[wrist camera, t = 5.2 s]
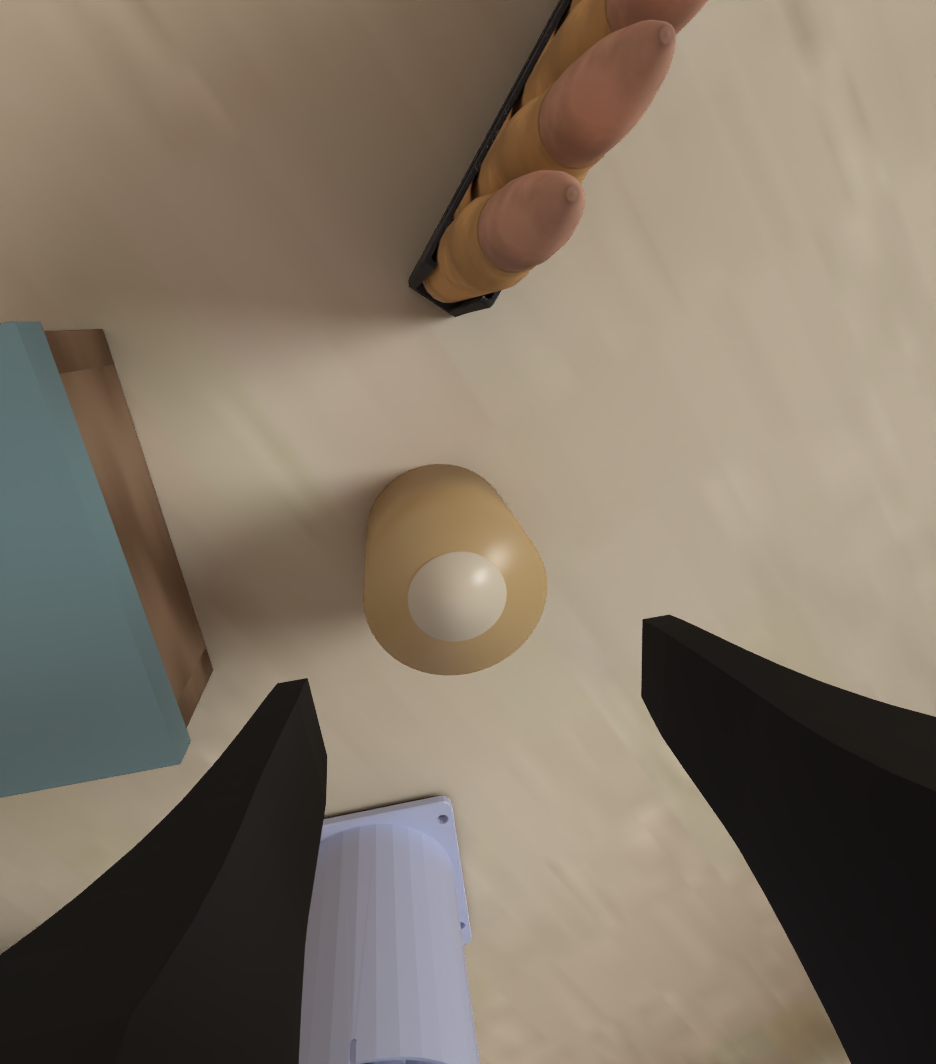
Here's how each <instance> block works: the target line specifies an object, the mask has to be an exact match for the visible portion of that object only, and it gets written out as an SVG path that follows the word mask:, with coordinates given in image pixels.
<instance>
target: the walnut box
mask: <svg viewBox="0 0 936 1064" xmlns="http://www.w3.org/2000/svg"><path fill="white" fill-rule="evenodd" d="M44 333H45V336H46V338H47V341H48V344H49V347H50V350H51V352H52V355H53V358H54V361H55V364H56V366H57V369H58V372H59V375H60V377H61V380H62V383H63V386H64V389H65V391H66V394H67V397H68V400H69V403H70V405H71V408H72V411H73V414H74V417H75V419H76V422H77V425H78V428H79V430H80V433H81V436H82V439H83V442H84V444H85V447H86V450H87V453H88V456H89V458H90V461H91V464H92V467H93V469H94V472H95V475H96V478H97V481H98V483H99V486H100V489H101V492H102V495H103V497H104V500H105V503H106V506H107V509H108V511H109V514H110V517H111V520H112V522H113V525H114V528H115V531H116V534H117V536H118V539H119V542H120V545H121V548H122V550H123V553H124V556H125V559H126V561H127V564H128V567H129V570H130V573H131V575H132V578H133V581H134V584H135V587H136V589H137V592H138V595H139V598H140V601H141V603H142V606H143V609H144V612H145V614H146V617H147V620H148V623H149V626H150V628H151V631H152V634H153V637H154V640H155V642H156V645H157V648H158V651H159V653H160V656H161V659H162V662H163V665H164V667H165V670H166V673H167V676H168V679H169V681H170V684H171V687H172V690H173V693H174V695H175V698H176V701H177V704H178V706H179V709H180V712H181V715H182V718H183V720H184V723H185V726H186V728H187V726H188V724H189V721H190V719H191V717H192V715H193V713H194V711H195V708H196V706H197V704H198V702H199V700H200V698H201V695H202V693H203V691H204V689H205V687H206V684H207V682H208V680H209V678H210V676H211V674H212V671H213V668H212V665H211V662H210V659H209V656H208V653H207V650H206V647H205V643H204V640H203V637H202V634H201V631H200V628H199V625H198V622H197V619H196V616H195V613H194V610H193V606H192V603H191V600H190V597H189V594H188V591H187V588H186V585H185V582H184V579H183V576H182V573H181V569H180V566H179V563H178V560H177V557H176V554H175V551H174V548H173V545H172V542H171V539H170V535H169V532H168V529H167V526H166V523H165V520H164V517H163V514H162V511H161V508H160V505H159V502H158V498H157V495H156V492H155V489H154V486H153V483H152V480H151V477H150V474H149V471H148V468H147V465H146V461H145V458H144V455H143V452H142V449H141V446H140V443H139V440H138V437H137V434H136V431H135V428H134V424H133V421H132V418H131V415H130V412H129V409H128V406H127V403H126V400H125V397H124V394H123V391H122V387H121V384H120V381H119V378H118V375H117V372H116V369H115V366H114V363H113V360H112V357H111V354H110V350H109V347H108V344H107V341H106V338H105V335H104V332H103V329H93V330H68V331H44Z"/></svg>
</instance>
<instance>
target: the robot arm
mask: <svg viewBox="0 0 936 1064" xmlns="http://www.w3.org/2000/svg"><path fill="white" fill-rule="evenodd" d="M641 697H642V699H643V701H644V703H645V705H646V707H647V709H648V711H649V713H650V715H651V717H652V719H653V721H654V722H655V724H656V726H657V728H658V730H659V732H660V734H661V736H662V737H663V739H664V740H665V742H666V743H667V745H668V746H669V748H670V749H671V751H672V752H673V753H674V755H675V756H676V758H677V759H678V761H679V762H680V764H681V765H682V767H683V768H684V769H685V771H686V772H687V774H688V775H689V777H690V778H691V779H692V781H693V782H694V784H695V785H696V787H697V788H698V789H699V791H700V792H701V794H702V795H703V796H704V798H705V799H706V801H707V802H708V804H709V805H710V806H711V808H712V809H713V811H714V812H715V814H716V815H717V816H718V818H719V819H720V821H721V822H722V824H723V825H724V826H725V828H726V829H727V831H728V833H729V834H730V836H731V837H732V839H733V840H734V842H735V843H736V845H737V847H738V848H739V850H740V852H741V853H742V855H743V857H744V859H745V860H746V862H747V864H748V866H749V867H750V869H751V871H752V873H753V874H754V876H755V878H756V880H757V881H758V883H759V885H760V887H761V888H762V890H763V892H764V894H765V896H766V897H767V899H768V901H769V903H770V905H771V907H772V908H773V910H774V912H775V914H776V916H777V918H778V920H779V921H780V923H781V925H782V927H783V929H784V931H785V933H786V934H787V936H788V938H789V940H790V942H791V944H792V946H793V947H794V949H795V951H796V953H797V955H798V957H799V959H800V961H801V963H802V965H803V967H804V969H805V971H806V973H807V975H808V977H809V979H810V981H811V983H812V985H813V987H814V989H815V991H816V993H817V995H818V996H819V998H820V1000H821V1002H822V1004H823V1006H824V1008H825V1010H826V1012H827V1014H828V1016H829V1018H830V1020H831V1022H832V1024H833V1026H834V1029H835V1031H836V1033H837V1035H838V1037H839V1039H840V1041H841V1043H842V1045H843V1047H844V1049H845V1052H846V1054H847V1056H848V1058H849V1060H850V1062H851V1064H936V717H934V716H930V715H926V714H923V713H919V712H915V711H911V710H908V709H904V708H900V707H897V706H893V705H890V704H887V703H883V702H880V701H877V700H873V699H870V698H867V697H864V696H861V695H858V694H855V693H852V692H849V691H846V690H843V689H840V688H838V687H835V686H832V685H829V684H826V683H824V682H821V681H818V680H816V679H813V678H810V677H808V676H806V675H803V674H801V673H798V672H796V671H793V670H791V669H788V668H786V667H784V666H781V665H779V664H776V663H774V662H772V661H770V660H767V659H765V658H763V657H761V656H758V655H756V654H754V653H752V652H750V651H747V650H745V649H743V648H741V647H739V646H737V645H735V644H732V643H730V642H728V641H726V640H724V639H722V638H720V637H718V636H716V635H714V634H711V633H709V632H707V631H705V630H703V629H701V628H699V627H697V626H694V625H692V624H690V623H688V622H686V621H684V620H681V619H679V618H676V617H674V616H671V615H665V616H659V617H654V618H648V619H643V628H642V688H641ZM326 784H327V754H326V750H325V746H324V742H323V738H322V734H321V730H320V726H319V722H318V718H317V714H316V710H315V706H314V702H313V698H312V694H311V690H310V686H309V682H308V678H306V679H300V680H294V681H289V682H283V683H277V684H276V686H275V687H274V688H273V690H272V691H271V692H270V693H269V695H268V696H267V697H266V698H265V700H264V701H263V702H262V704H261V705H260V706H259V708H258V709H257V710H256V712H255V713H254V714H253V716H252V717H251V718H250V719H249V721H248V722H247V723H246V725H245V726H244V727H243V729H242V730H241V731H240V732H239V734H238V735H237V736H236V737H235V739H234V740H233V741H232V742H231V744H230V745H229V746H228V748H227V749H226V750H225V751H224V753H223V754H222V755H221V756H220V758H219V759H218V760H217V761H216V762H215V763H214V764H213V766H212V767H211V768H210V769H209V770H208V771H207V773H206V774H205V775H204V776H203V777H202V778H201V779H200V781H199V782H198V783H197V784H196V785H195V786H194V787H193V789H192V790H191V791H190V792H189V793H188V794H187V795H186V796H185V797H184V798H183V800H182V801H181V802H180V803H179V804H178V805H177V806H176V807H175V808H174V809H173V810H172V811H171V812H170V813H169V814H168V815H167V816H166V817H165V818H164V819H163V820H162V821H161V822H160V823H159V824H158V825H157V826H156V827H155V828H154V829H153V830H152V831H151V832H150V833H149V834H148V835H146V836H145V837H144V838H143V839H142V840H141V841H140V842H139V843H138V844H137V845H136V846H135V847H134V848H133V849H132V850H130V851H129V852H128V853H127V854H126V855H125V856H123V857H122V858H121V859H120V860H119V861H118V862H116V863H115V864H114V865H113V866H112V867H111V868H110V869H108V870H107V871H106V872H105V873H104V874H103V875H101V876H100V877H99V878H98V879H97V880H96V881H94V882H93V883H92V884H91V885H90V886H89V887H88V888H86V889H85V890H84V891H83V892H82V893H80V894H79V895H78V896H77V897H76V898H74V899H73V900H72V901H71V902H69V903H68V904H67V905H65V906H64V907H63V908H62V909H60V910H59V911H58V912H57V913H55V914H54V915H53V916H52V917H50V918H49V919H48V920H46V921H45V922H44V923H43V924H41V925H40V926H39V927H37V928H36V929H34V930H33V931H32V932H30V933H29V934H28V935H26V936H25V937H24V938H22V939H21V940H20V941H18V942H17V943H16V944H14V945H13V946H12V947H10V948H9V949H8V950H6V951H5V952H3V953H2V954H1V955H0V1064H480V1060H479V1053H478V1046H477V1038H476V1031H475V1024H474V1017H473V1010H472V1003H471V996H470V989H469V982H468V974H467V967H466V960H465V953H464V946H463V945H466V944H467V943H469V942H470V940H471V938H472V934H471V928H470V921H469V914H468V908H467V901H466V895H465V888H464V881H463V875H462V868H461V861H460V855H459V848H458V842H457V835H456V828H455V822H454V815H453V808H452V802H451V800H450V799H449V798H448V797H446V796H437V797H432V798H427V799H422V800H417V801H412V802H407V803H402V804H397V805H392V806H387V807H382V808H377V809H372V810H367V811H362V812H358V813H353V814H348V815H343V816H338V817H333V818H328V819H324V813H325V805H326ZM441 815H445V816H442V817H439V816H441Z"/></svg>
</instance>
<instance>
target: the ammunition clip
mask: <svg viewBox="0 0 936 1064" xmlns="http://www.w3.org/2000/svg"><path fill="white" fill-rule="evenodd" d="M707 1H708V0H559V2H558V4H557V6H556V8H555V10H554V11H553V13H552V15H551V17H550V19H549V21H548V22H547V24H546V26H545V28H544V30H543V32H542V34H541V35H540V37H539V39H538V41H537V43H536V45H535V47H534V48H533V50H532V52H531V54H530V56H529V58H528V59H527V61H526V63H525V65H524V67H523V69H522V71H521V72H520V74H519V76H518V78H517V80H516V82H515V84H514V85H513V87H512V89H511V91H510V93H509V95H508V97H507V98H506V100H505V102H504V104H503V106H502V108H501V109H500V111H499V113H498V115H497V117H496V119H495V121H494V122H493V124H492V126H491V128H490V130H489V132H488V134H487V135H486V137H485V139H484V141H483V143H482V145H481V146H480V148H479V150H478V152H477V154H476V156H475V158H474V159H473V161H472V163H471V165H470V167H469V169H468V171H467V172H466V174H465V176H464V178H463V180H462V182H461V184H460V185H459V187H458V189H457V191H456V193H455V195H454V196H453V198H452V200H451V202H450V204H449V206H448V208H447V209H446V211H445V213H444V215H443V217H442V219H441V221H440V222H439V224H438V226H437V228H436V230H435V232H434V234H433V235H432V237H431V239H430V241H429V243H428V245H427V246H426V248H425V250H424V252H423V254H422V256H421V258H420V259H419V261H418V263H417V265H416V267H415V269H414V271H413V272H412V274H411V276H410V278H409V287H411V288H412V289H414V290H415V291H417V292H418V293H420V294H421V295H423V296H424V297H426V298H427V299H429V300H430V301H432V302H433V303H435V304H436V305H438V306H439V307H441V308H442V309H444V310H445V311H447V312H448V313H450V314H451V315H453V316H454V317H456V316H460V315H463V314H466V313H469V312H473V311H478V310H482V309H486V308H490V307H491V306H492V305H493V304H494V302H495V300H496V299H497V297H498V295H499V293H500V292H501V290H503V289H506V288H509V287H512V286H514V285H515V284H517V283H518V282H519V281H520V280H521V279H523V278H524V277H525V276H526V275H527V274H528V272H529V270H531V269H532V268H534V267H535V266H536V265H539V264H541V263H543V262H545V261H546V260H547V259H548V258H550V257H551V256H552V255H553V254H554V253H555V252H557V251H558V250H559V249H560V248H561V247H562V246H564V245H565V244H566V242H567V241H568V240H569V238H570V237H571V235H572V234H573V232H574V230H575V229H576V227H577V225H578V223H579V221H580V219H581V216H582V213H583V209H584V204H585V198H584V191H583V188H582V185H581V182H582V181H583V179H584V177H585V176H586V174H587V172H588V170H589V169H590V168H591V167H592V166H593V165H595V164H596V163H597V162H598V161H599V160H600V159H601V158H603V157H604V155H605V153H607V152H608V151H609V150H610V149H611V148H613V147H614V146H615V145H616V144H617V143H618V142H620V141H621V140H622V139H623V138H624V137H625V136H626V135H627V134H628V133H629V131H630V130H631V129H632V128H633V127H634V126H635V125H636V123H637V122H638V121H639V120H640V119H641V117H642V116H643V114H644V113H645V111H646V110H647V108H648V107H649V105H650V104H651V102H652V100H653V99H654V97H655V95H656V93H657V92H658V90H659V88H660V86H661V84H662V82H663V80H664V79H665V77H666V75H667V73H668V70H669V67H670V64H671V61H672V57H673V53H674V48H675V35H676V34H677V33H678V32H679V31H680V30H681V29H682V28H683V27H684V26H685V25H686V24H687V23H689V21H690V20H691V19H692V18H693V17H694V16H695V15H696V14H697V13H698V12H699V11H700V10H701V8H702V7H703V6H704V5H705V3H706V2H707Z"/></svg>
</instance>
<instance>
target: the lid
mask: <svg viewBox="0 0 936 1064" xmlns="http://www.w3.org/2000/svg"><path fill="white" fill-rule="evenodd" d="M190 741H191V740H190V737H189V734H188V732H187V729H186V726H185V723H184V720H183V718H182V715H181V712H180V709H179V706H178V704H177V701H176V698H175V695H174V693H173V690H172V687H171V684H170V681H169V679H168V676H167V673H166V670H165V667H164V665H163V662H162V659H161V656H160V653H159V651H158V648H157V645H156V642H155V640H154V637H153V634H152V631H151V628H150V626H149V623H148V620H147V617H146V614H145V612H144V609H143V606H142V603H141V601H140V598H139V595H138V592H137V589H136V587H135V584H134V581H133V578H132V575H131V573H130V570H129V567H128V564H127V561H126V559H125V556H124V553H123V550H122V548H121V545H120V542H119V539H118V536H117V534H116V531H115V528H114V525H113V522H112V520H111V517H110V514H109V511H108V509H107V506H106V503H105V500H104V497H103V495H102V492H101V489H100V486H99V483H98V481H97V478H96V475H95V472H94V469H93V467H92V464H91V461H90V458H89V456H88V453H87V450H86V447H85V444H84V442H83V439H82V436H81V433H80V430H79V428H78V425H77V422H76V419H75V417H74V414H73V411H72V408H71V405H70V403H69V400H68V397H67V394H66V391H65V389H64V386H63V383H62V380H61V377H60V375H59V372H58V369H57V366H56V364H55V361H54V358H53V355H52V352H51V350H50V347H49V344H48V341H47V338H46V336H45V333H44V330H43V327H42V325H41V322H8V323H0V798H1V797H7V796H12V795H17V794H23V793H28V792H33V791H39V790H44V789H49V788H55V787H60V786H65V785H71V784H76V783H81V782H87V781H92V780H97V779H103V778H108V777H113V776H119V775H124V774H130V773H135V772H140V771H146V770H151V769H156V768H162V767H167V766H172V765H178V764H181V762H182V759H183V757H184V755H185V753H186V750H187V748H188V746H189V744H190Z"/></svg>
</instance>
